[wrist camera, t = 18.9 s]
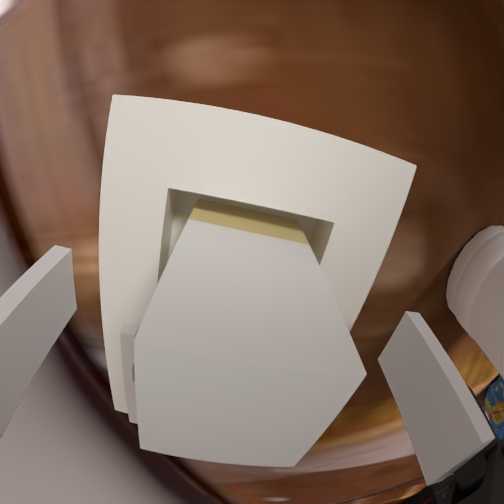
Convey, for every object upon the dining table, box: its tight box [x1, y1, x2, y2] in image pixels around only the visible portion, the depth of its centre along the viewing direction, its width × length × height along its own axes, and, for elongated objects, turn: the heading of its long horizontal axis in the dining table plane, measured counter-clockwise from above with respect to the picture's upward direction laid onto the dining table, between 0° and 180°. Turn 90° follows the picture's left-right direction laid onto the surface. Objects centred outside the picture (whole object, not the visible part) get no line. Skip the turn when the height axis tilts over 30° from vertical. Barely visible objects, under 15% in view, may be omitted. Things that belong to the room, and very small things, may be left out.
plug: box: [134, 199, 367, 467], centre depth 11 cm, size 5×5×10 cm
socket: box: [99, 95, 417, 424], centre depth 16 cm, size 20×13×4 cm, turn 167°
